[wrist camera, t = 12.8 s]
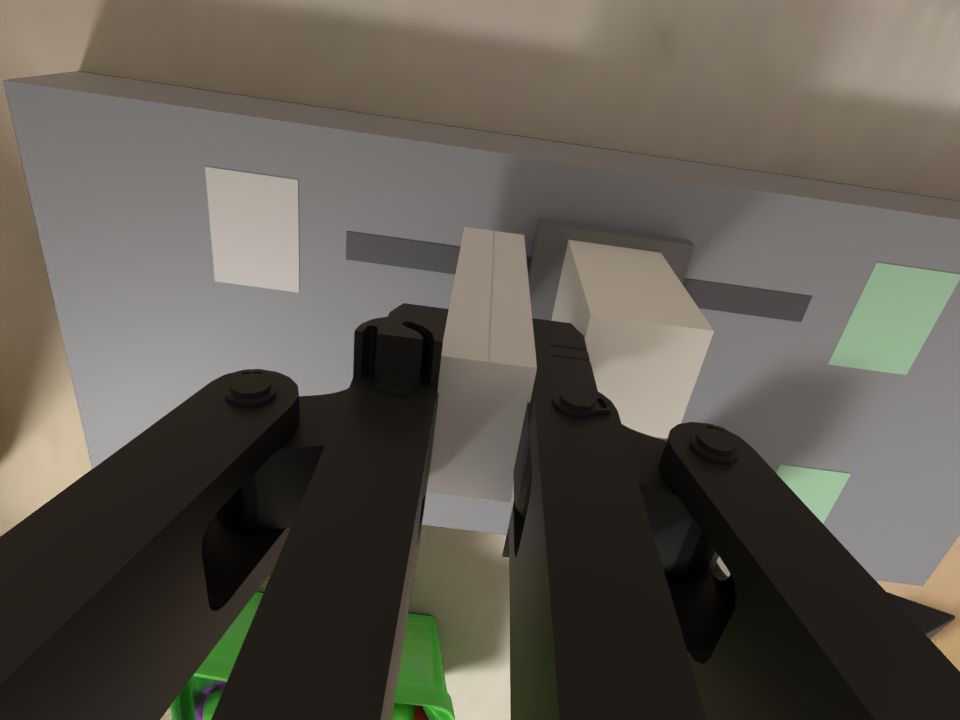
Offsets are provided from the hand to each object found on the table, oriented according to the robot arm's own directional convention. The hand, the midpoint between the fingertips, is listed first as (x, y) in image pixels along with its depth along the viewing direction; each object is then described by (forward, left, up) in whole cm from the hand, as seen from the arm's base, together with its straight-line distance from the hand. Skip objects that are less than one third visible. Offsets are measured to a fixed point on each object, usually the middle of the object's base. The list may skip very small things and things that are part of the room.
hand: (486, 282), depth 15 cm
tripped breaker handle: (+3, 0, -1) cm, 3 cm away
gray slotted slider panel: (+3, -4, -5) cm, 6 cm away
